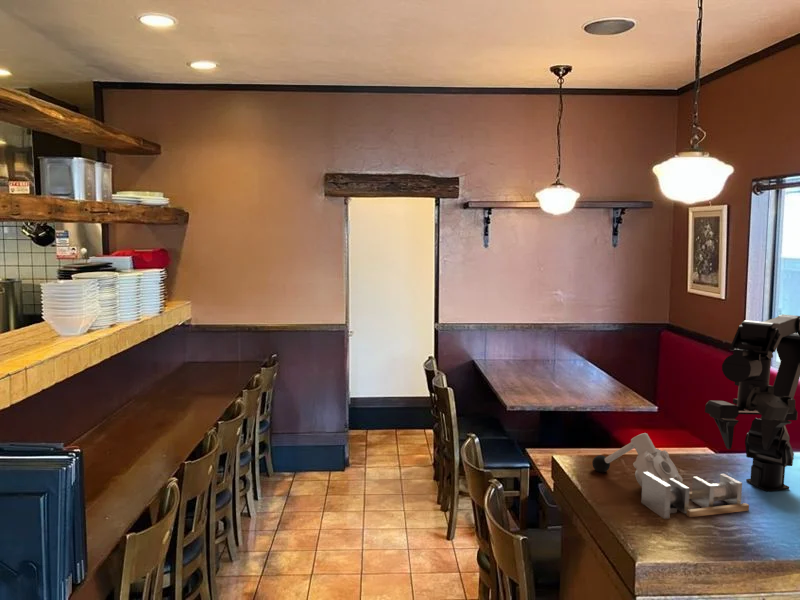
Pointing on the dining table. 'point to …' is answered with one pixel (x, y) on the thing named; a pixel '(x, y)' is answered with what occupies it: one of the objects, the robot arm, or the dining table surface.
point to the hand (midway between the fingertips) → (747, 449)
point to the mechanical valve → (643, 460)
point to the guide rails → (716, 509)
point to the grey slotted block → (716, 491)
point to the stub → (664, 495)
